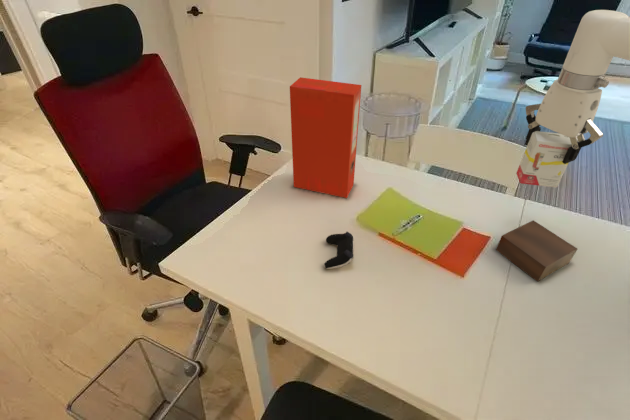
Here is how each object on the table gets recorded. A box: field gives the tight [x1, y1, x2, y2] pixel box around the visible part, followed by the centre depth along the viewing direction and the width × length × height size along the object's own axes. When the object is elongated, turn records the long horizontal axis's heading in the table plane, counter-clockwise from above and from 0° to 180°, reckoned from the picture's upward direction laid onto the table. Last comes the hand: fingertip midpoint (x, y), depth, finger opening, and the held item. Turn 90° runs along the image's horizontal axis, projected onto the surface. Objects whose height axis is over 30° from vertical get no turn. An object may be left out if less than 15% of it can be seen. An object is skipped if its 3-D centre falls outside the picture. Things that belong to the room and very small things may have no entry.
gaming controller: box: [323, 231, 355, 270], centre depth 92 cm, size 11×4×7 cm
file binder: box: [289, 77, 362, 199], centre depth 107 cm, size 8×17×32 cm, turn 70°
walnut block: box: [495, 219, 578, 282], centre depth 92 cm, size 12×12×5 cm
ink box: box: [515, 130, 572, 188], centre depth 88 cm, size 9×5×12 cm, turn 75°
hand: (547, 152), depth 87 cm, fingers closed on ink box, 9 cm apart
